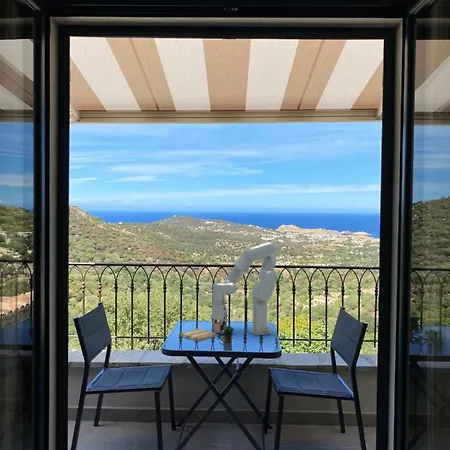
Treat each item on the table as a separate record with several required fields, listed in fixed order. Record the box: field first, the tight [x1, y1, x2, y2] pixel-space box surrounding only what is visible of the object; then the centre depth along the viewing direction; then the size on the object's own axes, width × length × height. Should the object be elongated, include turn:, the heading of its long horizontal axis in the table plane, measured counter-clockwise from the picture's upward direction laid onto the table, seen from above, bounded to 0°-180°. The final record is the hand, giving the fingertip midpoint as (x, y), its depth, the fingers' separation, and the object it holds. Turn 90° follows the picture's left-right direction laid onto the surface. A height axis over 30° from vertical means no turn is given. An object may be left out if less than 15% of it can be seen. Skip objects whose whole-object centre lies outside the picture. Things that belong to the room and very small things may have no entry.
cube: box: [213, 321, 226, 333], centre depth 254 cm, size 5×5×5 cm
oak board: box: [179, 328, 217, 343], centre depth 247 cm, size 16×16×2 cm
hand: (219, 329), depth 254 cm, fingers closed on cube, 5 cm apart
